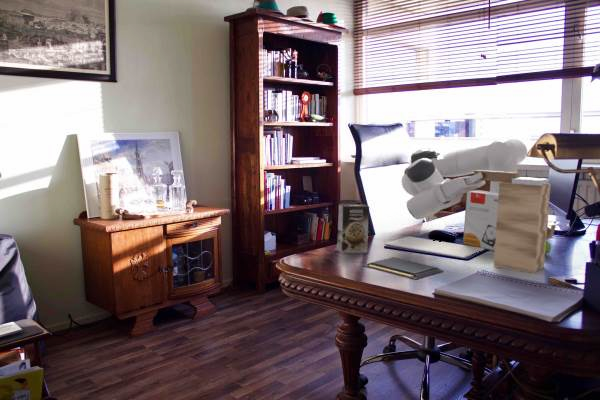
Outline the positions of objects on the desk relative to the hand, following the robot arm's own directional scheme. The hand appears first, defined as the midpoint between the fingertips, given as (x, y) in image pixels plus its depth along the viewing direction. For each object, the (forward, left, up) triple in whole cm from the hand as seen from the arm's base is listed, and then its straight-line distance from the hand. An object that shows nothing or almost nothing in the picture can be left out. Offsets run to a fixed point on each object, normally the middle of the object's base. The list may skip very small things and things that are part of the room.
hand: (485, 174), depth 167 cm
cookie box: (+20, -37, -28) cm, 50 cm away
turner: (0, +7, -2) cm, 7 cm away
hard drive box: (-21, -6, -28) cm, 36 cm away
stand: (0, +12, -28) cm, 30 cm away
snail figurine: (-22, +13, -28) cm, 38 cm away
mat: (-7, -20, -28) cm, 35 cm away
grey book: (+28, -13, -29) cm, 42 cm away
